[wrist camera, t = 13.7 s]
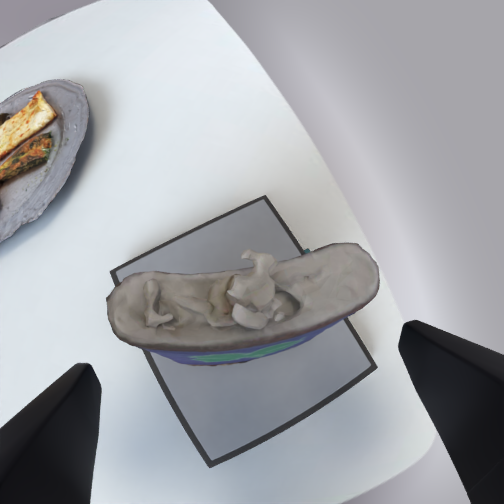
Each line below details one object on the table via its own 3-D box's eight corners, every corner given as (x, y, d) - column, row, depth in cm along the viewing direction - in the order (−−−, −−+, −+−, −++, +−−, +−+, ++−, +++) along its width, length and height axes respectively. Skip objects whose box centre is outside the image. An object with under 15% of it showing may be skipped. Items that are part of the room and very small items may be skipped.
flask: (313, 298, 18) (393, 207, 8) (324, 345, 17) (426, 302, 7) (160, 324, 17) (72, 257, 7) (167, 373, 16) (76, 366, 6)
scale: (372, 364, 19) (387, 362, 17) (211, 460, 16) (208, 470, 14) (269, 204, 23) (272, 187, 21) (118, 279, 21) (106, 268, 18)
